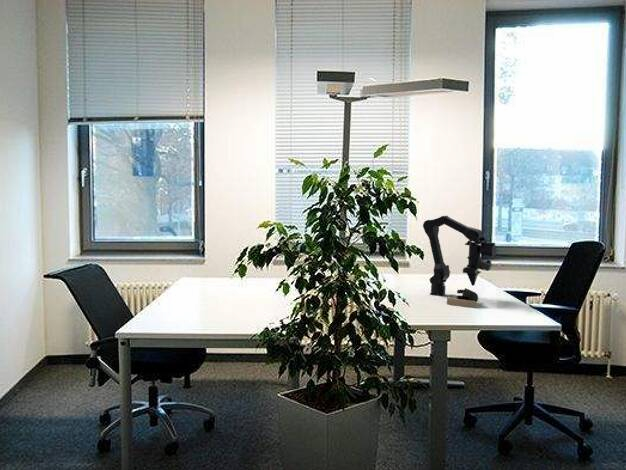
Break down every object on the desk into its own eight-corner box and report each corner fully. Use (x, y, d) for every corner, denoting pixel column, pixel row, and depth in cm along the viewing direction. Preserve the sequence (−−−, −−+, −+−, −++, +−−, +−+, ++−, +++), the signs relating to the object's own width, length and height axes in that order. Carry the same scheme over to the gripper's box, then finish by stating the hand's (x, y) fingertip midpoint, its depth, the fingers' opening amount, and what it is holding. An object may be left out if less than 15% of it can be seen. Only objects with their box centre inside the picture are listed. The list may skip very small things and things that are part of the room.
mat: (446, 304, 313) (447, 298, 312) (456, 299, 326) (456, 293, 326) (475, 308, 306) (475, 301, 306) (483, 302, 319) (484, 296, 319)
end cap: (478, 305, 310) (478, 291, 310) (463, 305, 309) (464, 292, 309) (469, 301, 320) (470, 288, 320) (456, 301, 319) (456, 288, 319)
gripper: (485, 258, 311) (484, 290, 313) (495, 254, 328) (493, 284, 329) (463, 256, 317) (461, 287, 318) (473, 252, 333) (472, 282, 335)
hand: (473, 285), depth 325 cm, fingers closed
